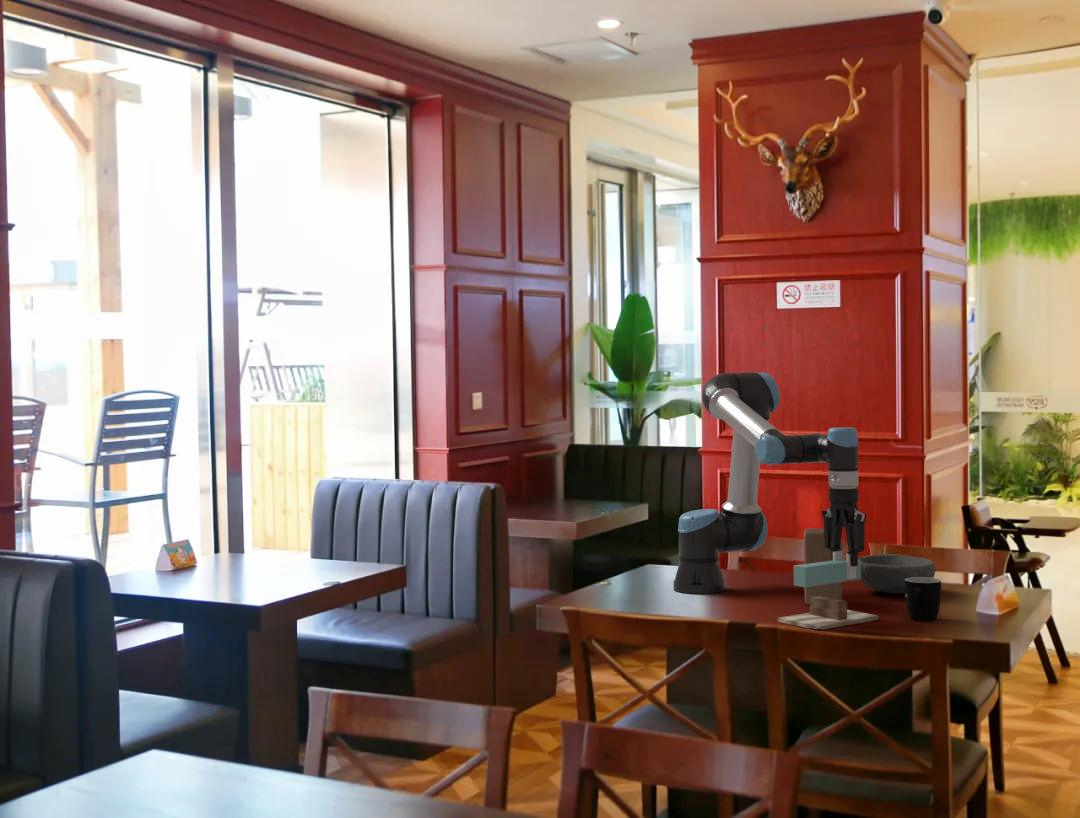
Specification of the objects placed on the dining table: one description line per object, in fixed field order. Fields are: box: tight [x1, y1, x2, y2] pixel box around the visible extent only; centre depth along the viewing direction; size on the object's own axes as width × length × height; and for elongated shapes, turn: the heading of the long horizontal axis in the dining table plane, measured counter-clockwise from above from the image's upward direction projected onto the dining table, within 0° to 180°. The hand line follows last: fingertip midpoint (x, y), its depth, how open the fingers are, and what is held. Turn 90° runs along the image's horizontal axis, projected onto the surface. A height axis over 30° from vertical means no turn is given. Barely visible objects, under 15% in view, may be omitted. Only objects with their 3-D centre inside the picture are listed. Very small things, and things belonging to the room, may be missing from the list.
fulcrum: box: [777, 596, 880, 630], centre depth 322 cm, size 14×22×6 cm, turn 124°
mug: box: [904, 577, 942, 622], centre depth 321 cm, size 12×9×10 cm
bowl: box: [858, 553, 937, 595], centre depth 361 cm, size 23×22×10 cm
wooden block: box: [803, 528, 843, 606], centre depth 348 cm, size 10×10×20 cm
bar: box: [793, 558, 861, 588], centre depth 322 cm, size 4×20×5 cm, turn 123°
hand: (844, 577), depth 325 cm, fingers closed on bar, 4 cm apart
